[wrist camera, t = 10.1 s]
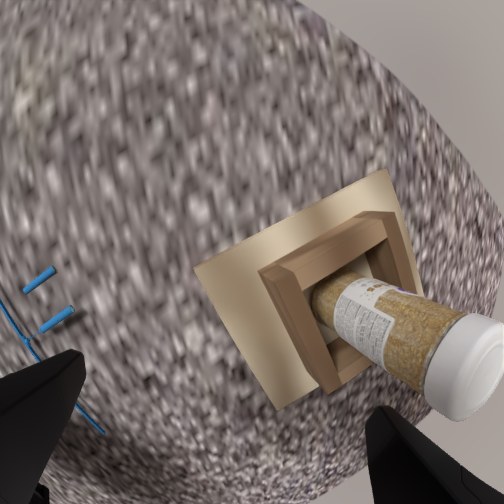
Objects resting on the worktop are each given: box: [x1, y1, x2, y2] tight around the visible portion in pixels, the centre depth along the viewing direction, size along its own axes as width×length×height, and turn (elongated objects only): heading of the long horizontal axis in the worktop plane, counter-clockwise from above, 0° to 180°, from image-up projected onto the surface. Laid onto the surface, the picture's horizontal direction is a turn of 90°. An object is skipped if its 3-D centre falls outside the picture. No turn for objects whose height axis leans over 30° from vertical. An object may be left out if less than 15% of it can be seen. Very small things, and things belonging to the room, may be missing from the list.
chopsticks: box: [0, 266, 105, 435], centre depth 16 cm, size 1×25×5 cm
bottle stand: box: [193, 169, 424, 411], centre depth 20 cm, size 16×13×4 cm
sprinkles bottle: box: [311, 268, 504, 422], centre depth 15 cm, size 5×5×14 cm
